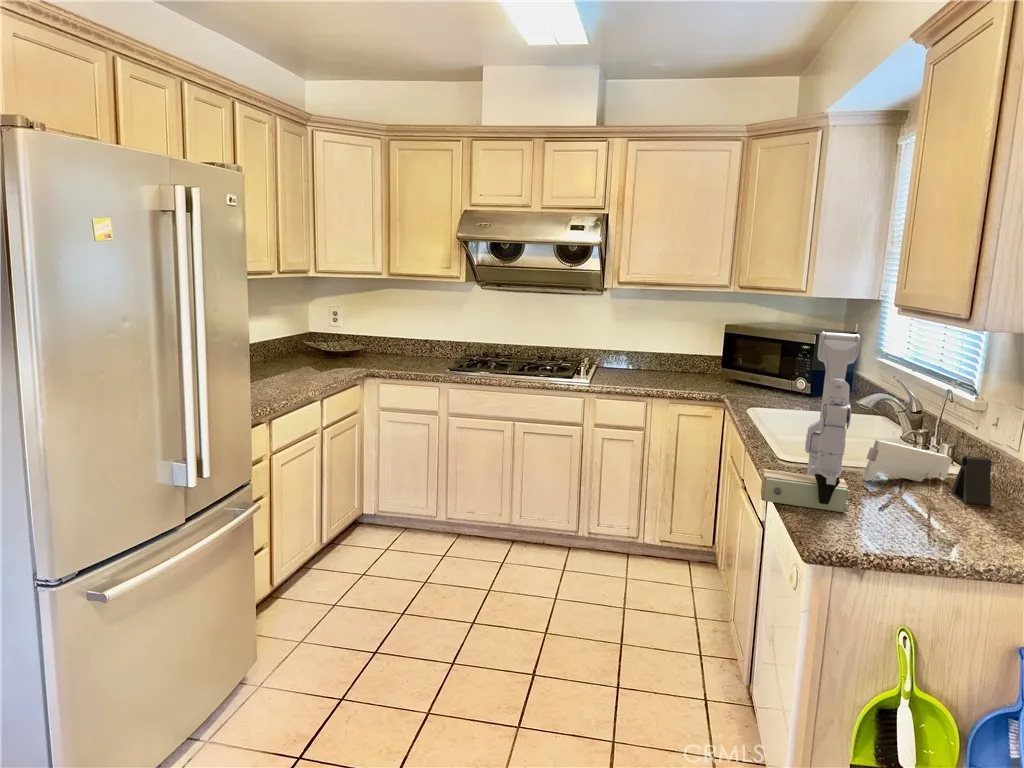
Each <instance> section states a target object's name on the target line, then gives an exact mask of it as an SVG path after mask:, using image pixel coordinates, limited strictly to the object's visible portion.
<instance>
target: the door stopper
mask: <svg viewBox="0 0 1024 768" xmlns="http://www.w3.org/2000/svg"><path fill="white" fill-rule="evenodd" d="M991 469H992V459H991V458H990V457H981V456H980V457H979V456H966V455H964V456H963V457H962V459H961V465H960V468H959V471H958V473H957V476H956V477H955V480H954V483H953V485H952V487H951V491H950V493H951V494H952V495H953V496H955V497H956V498H958V500H960V501H961V502H963V503H964V504H967V505H979V506H988V507H990V506H991V505H992V503H991V500H992V499H991V491H992V489H991V488H992V487H991Z"/></svg>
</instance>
